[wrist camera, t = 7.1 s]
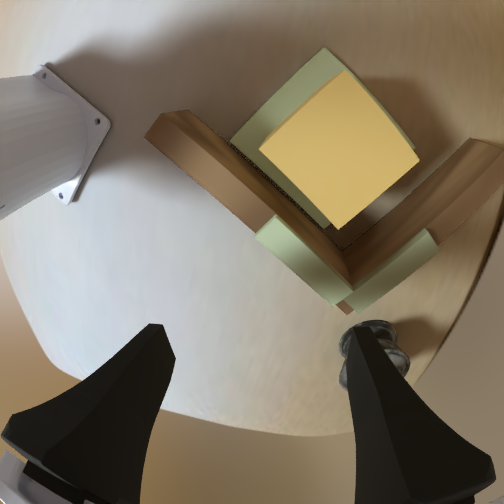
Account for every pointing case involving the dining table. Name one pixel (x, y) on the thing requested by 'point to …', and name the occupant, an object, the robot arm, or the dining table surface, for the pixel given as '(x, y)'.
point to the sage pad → (280, 109)
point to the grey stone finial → (387, 340)
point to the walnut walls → (311, 237)
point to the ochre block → (339, 149)
